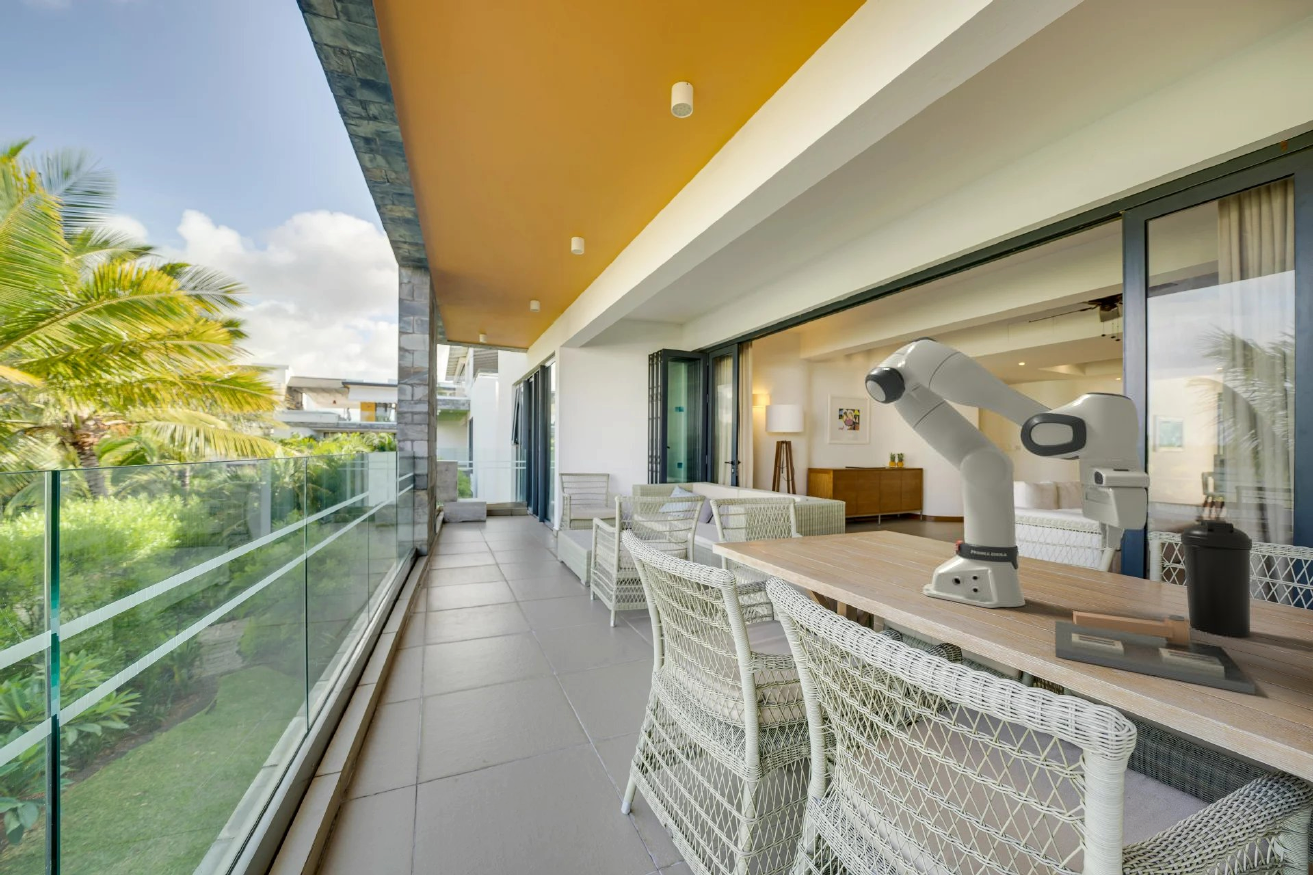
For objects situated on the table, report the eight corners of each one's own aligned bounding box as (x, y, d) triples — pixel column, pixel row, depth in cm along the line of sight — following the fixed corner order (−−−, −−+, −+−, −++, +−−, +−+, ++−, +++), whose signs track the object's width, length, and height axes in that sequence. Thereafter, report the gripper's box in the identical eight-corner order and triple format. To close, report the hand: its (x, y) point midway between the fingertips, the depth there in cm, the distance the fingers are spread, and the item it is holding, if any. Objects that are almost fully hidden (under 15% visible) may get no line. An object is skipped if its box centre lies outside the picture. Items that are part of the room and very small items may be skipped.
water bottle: (1245, 628, 108) (1240, 520, 108) (1265, 643, 99) (1260, 525, 100) (1178, 619, 113) (1173, 516, 114) (1192, 632, 105) (1187, 521, 106)
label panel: (1055, 656, 92) (1055, 642, 92) (1055, 627, 108) (1055, 615, 108) (1254, 694, 78) (1253, 677, 78) (1221, 654, 93) (1220, 640, 93)
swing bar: (1186, 641, 95) (1185, 615, 95) (1193, 646, 92) (1191, 620, 93) (1073, 626, 104) (1072, 602, 104) (1076, 630, 101) (1075, 606, 101)
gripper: (1071, 473, 109) (1073, 538, 108) (1107, 476, 90) (1110, 554, 90) (1109, 474, 106) (1111, 540, 105) (1154, 477, 87) (1157, 558, 87)
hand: (1111, 547), depth 97 cm, fingers closed
